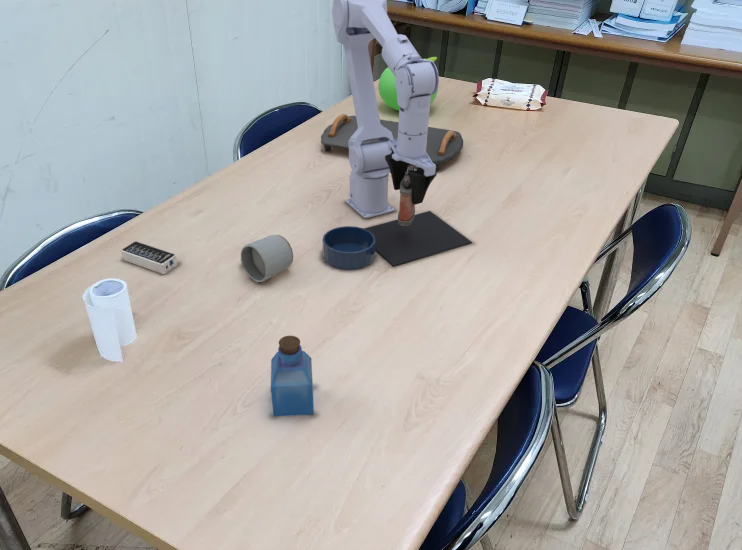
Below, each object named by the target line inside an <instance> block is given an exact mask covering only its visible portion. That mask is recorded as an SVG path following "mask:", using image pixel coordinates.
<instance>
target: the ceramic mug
mask: <svg viewBox="0 0 742 550" xmlns="http://www.w3.org/2000/svg"><path fill="white" fill-rule="evenodd" d="M293 261H294V251H293V248H292V246H291V243H289V241H288V240H287V238H285V237H284V236H282V235H280V234H271V235H267V236H266V237H263V238H261V239H258V240H256V241H255V240H254V241H252V242H249V243H247V244H244V245H243V247H242V248H241V250H240V262H241V265H242V267H243V269H244V271H245V274H247V276H248V277H249V278H250V279H251V280H253V281H254V282H257V283H263V282H265V281H267V280H268V279H270V278H272V277H275V276H276V275H278V274H280V273H282V272H283V271H285V270H287V269H288V268H289V267H290V266H291V265H292V263H293Z"/></svg>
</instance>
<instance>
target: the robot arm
mask: <svg viewBox="0 0 742 550" xmlns="http://www.w3.org/2000/svg"><path fill="white" fill-rule="evenodd" d="M387 1H388V0H333V1H332V7H331V16H332V23H333V27H334V34H335V37H336V42H337V43H339V44H341V45H343V51H344V57H345V61H346V67H347V74H348V79H349V85H350V90H351V95H352V102H353V107H354V113H355V116H356V119H357V125H358V129H357V130H356V131H355V133H354V134H353V135H352V136H351V138H350V139H349V141H348V145H349V150H348V163H349V166H350V169H351V171H350V174H349V187H348V189H349V193H348V195H349V198H348V199H346V200H345V203H346V204H348V206H350V207H351V208H352V209H353V210H354V211H356V212H357V213H358V214H359V215H360V216H362V217H363V218H364V219H369V218H373V217H377V216H382V215H385V214H388V213H393V212H395V208H394V207H393V206H391V205H390V204H389V203H388V195H389V179H390V178H389V175H390V176H391V181H392V187H393V189H394V190H395V191H400V184H401V181H402V179H403V178H404V176H405V172H406V171H408V168H409V167H410V165H411V166H414V167H415V168H416V169H414V171H410V172H408V175H409V178H410V181H411V187H412V203H413V204H414V205H419V204H422V203H423V202H424V199H425V196H426V194H427V192H428V189H429V187H430V185H431V183H432V182H433V181H434V179H435V178H436V177H437V175H438V171H436V165H435V164H434V163H433V162H432V161H431V159H430V157H429V156H428V154H427V152H426V145H427V134H428V127H429V123H430V113H431V112H430V110H431V104H430V101H431V95H433V94H435V92H436V91H437V89H438V90H439V85H440V76H439V71H438V68H437V66H436V64H435V62H433V61H431V60H426V59H427V58H422V56H420V54H419V52H418V51H417V50H416V48H415V46H414V45H413V44H412V42H411V41H410V39H409V38H408V37H407V36H406V34H400V33H399V34H398V32H397V30H396V28H395V27H394V25H393V22H392V21H391V18H390V17H389V14H388V3H387ZM374 39H375V40H376V41H377V42H378V43H379V45H380V46H381V47H382V49H381V57H382V59H383V61H384V62H385V64H386V66H387V67H389V68H390V70H391V72H392V73H393V75H394V76H395V86H396V91H397V102H398V105H399V106H400V108H399V111H398V122H399V124H398V140H397V139H393V135H392V132H391V131H389V130H388V129H386V128H385V127H383V126H382V125H381V124H380V120H381V117H380V113H379V106H378V100H377V94H376V89H375V82H374V75H373V70H372V64H371V57H370V52H369V45H370V42H371V41H373V40H374ZM370 140H379V141H376V142H370V143H365V144H361V143H362V142H365V141H370Z"/></svg>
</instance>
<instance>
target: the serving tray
mask: <svg viewBox="0 0 742 550" xmlns="http://www.w3.org/2000/svg"><path fill="white" fill-rule="evenodd" d="M380 124H381V125H382V126H383V127H385V128H386V129H388V130H389V131H391V132H392V135H393V139H397V140H398V124H399V121H393V120H386V119H380ZM357 129H358V125H357V119H356V115H347V114H345V113H342V114H339V115H338V116H337V117H336V118H335V119H334V121H333V122H332V123H331V124H330V125H328V126H327V127H326V128H324V130H323V132H322V134H321V135H320V144H321V145H322V146H323V150H324V151H325V152H327V153H329V152H330V151H331V150H332V149H333V148H338V149H343V150H348V151H349V145H348V141H349V139H350V138H351V136H352V135H353V134H354V133H355V131H356V130H357ZM376 141H379V140H370V141H365V142H362V143H361V144H365V143H370V142H376ZM463 148H464V139H463V137H462V134H461V132H459V131H457V130H451V129H445V128H439V127H433V126H428V134H427V145H426V152H427V154H428V156H429V157H430V159H431V161H432V162H433V163H434V164H435V165H436V171H437V172H439V171H440V170H441V168H442V164H443V163H446V162H449V160H452V159H453V158H455V157H456V156H457V155H459V153H460V152H461V151H462V149H463Z"/></svg>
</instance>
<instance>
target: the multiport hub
mask: <svg viewBox="0 0 742 550" xmlns="http://www.w3.org/2000/svg"><path fill="white" fill-rule="evenodd" d="M120 252H121V255H122V259H123V261H125V262H127V263H131V264H132V265H136V266H138V267H141V268H145V269H147V270H150V271H152V272H156V273H158V274H162V275H166V274H167V273H168V272H170V271H171V270H173V269H174V268H175V267H177V266H178V259H177V254H175V253H172V252H169V251H166V250H164V249H160V248H157V247H155V246H152V245H149V244H146V243H142V242H140V241H137V240H135V241H133V242H131V243H130V244H128V245H127V246H125V247H124V248H122V249H121V250H120Z"/></svg>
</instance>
